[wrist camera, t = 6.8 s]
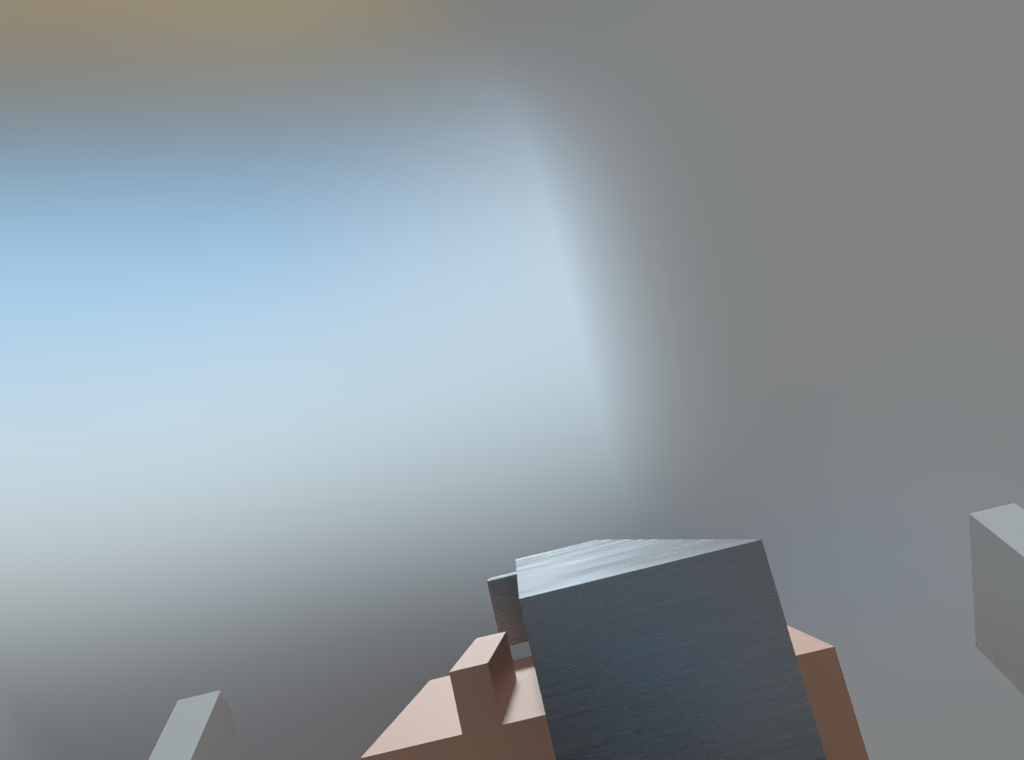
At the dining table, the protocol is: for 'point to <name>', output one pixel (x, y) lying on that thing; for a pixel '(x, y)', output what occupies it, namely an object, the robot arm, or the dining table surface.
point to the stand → (522, 720)
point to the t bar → (660, 651)
